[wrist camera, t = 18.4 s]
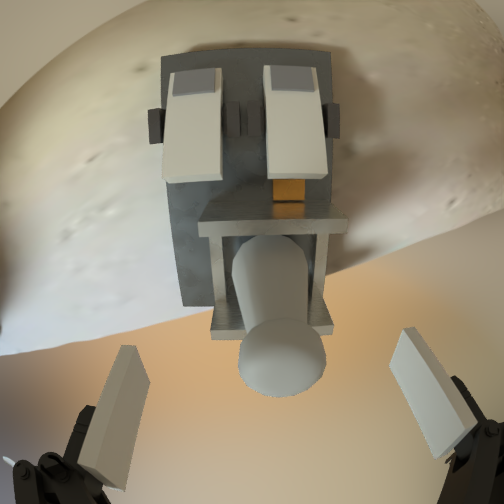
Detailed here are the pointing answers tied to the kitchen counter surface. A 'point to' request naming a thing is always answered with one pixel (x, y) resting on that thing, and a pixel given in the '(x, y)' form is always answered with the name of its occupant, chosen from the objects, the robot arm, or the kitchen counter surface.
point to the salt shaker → (276, 318)
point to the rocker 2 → (293, 123)
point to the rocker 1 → (194, 127)
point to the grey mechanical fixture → (248, 188)
